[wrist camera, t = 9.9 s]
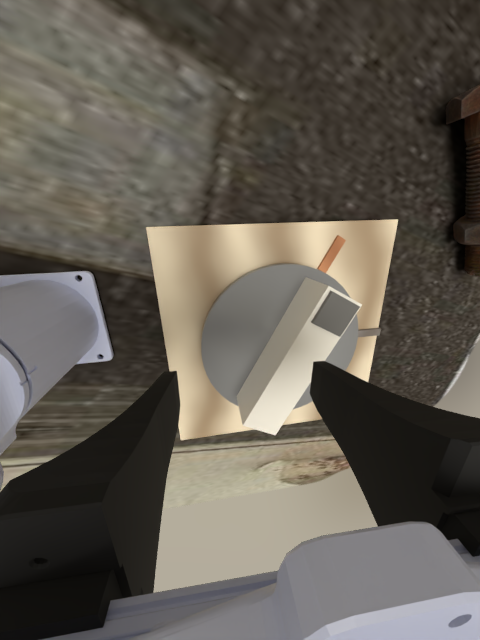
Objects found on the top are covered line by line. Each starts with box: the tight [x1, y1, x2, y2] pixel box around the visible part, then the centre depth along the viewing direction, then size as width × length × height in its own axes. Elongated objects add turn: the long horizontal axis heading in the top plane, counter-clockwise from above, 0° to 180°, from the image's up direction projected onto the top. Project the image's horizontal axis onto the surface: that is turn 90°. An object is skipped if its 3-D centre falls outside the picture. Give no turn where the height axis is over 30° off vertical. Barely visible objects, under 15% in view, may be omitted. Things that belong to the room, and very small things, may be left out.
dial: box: [201, 263, 362, 435], centre depth 19 cm, size 14×14×5 cm
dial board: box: [146, 219, 398, 440], centre depth 22 cm, size 20×20×2 cm
